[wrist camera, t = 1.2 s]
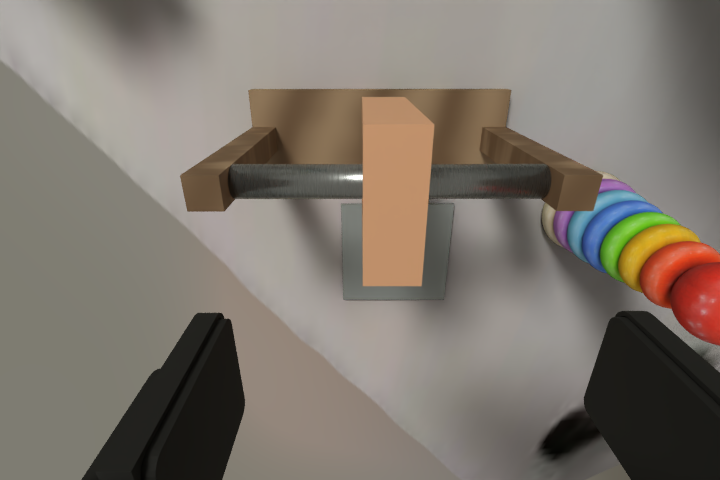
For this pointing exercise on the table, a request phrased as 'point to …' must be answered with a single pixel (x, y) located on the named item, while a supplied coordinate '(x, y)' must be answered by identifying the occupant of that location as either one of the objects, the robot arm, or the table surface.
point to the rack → (345, 152)
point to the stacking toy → (644, 254)
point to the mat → (432, 265)
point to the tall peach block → (394, 190)
